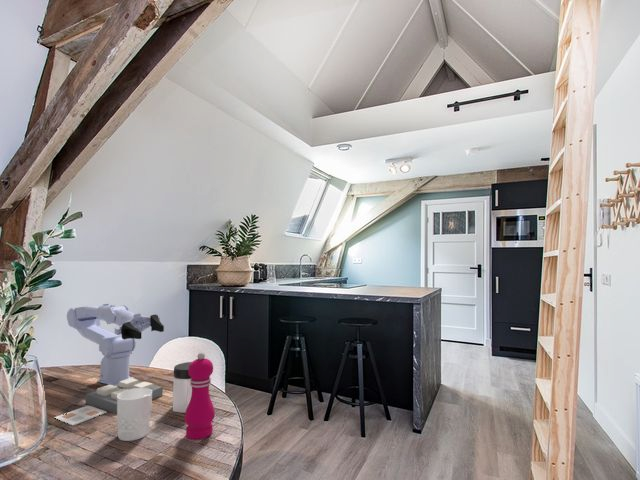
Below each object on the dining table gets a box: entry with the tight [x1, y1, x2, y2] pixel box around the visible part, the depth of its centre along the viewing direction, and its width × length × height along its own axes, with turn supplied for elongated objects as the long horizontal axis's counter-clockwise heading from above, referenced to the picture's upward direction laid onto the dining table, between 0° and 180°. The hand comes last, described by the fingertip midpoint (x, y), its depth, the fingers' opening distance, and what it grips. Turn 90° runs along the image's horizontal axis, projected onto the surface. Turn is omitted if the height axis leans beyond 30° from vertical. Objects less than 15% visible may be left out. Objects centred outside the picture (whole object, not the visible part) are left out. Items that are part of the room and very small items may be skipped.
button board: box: [85, 380, 164, 414], centre depth 111 cm, size 15×15×3 cm
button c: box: [111, 389, 128, 400], centre depth 106 cm, size 4×4×2 cm
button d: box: [133, 381, 154, 389], centre depth 113 cm, size 4×4×2 cm
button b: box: [119, 377, 139, 389], centre depth 116 cm, size 4×4×2 cm
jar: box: [172, 361, 193, 414], centre depth 106 cm, size 9×8×12 cm
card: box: [53, 404, 108, 426], centre depth 99 cm, size 9×9×1 cm
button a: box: [96, 384, 118, 396], centre depth 110 cm, size 4×4×2 cm
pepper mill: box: [184, 352, 216, 440], centre depth 90 cm, size 7×7×20 cm
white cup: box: [116, 388, 153, 442], centre depth 89 cm, size 8×8×10 cm
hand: (151, 332), depth 117 cm, fingers open, 7 cm apart
